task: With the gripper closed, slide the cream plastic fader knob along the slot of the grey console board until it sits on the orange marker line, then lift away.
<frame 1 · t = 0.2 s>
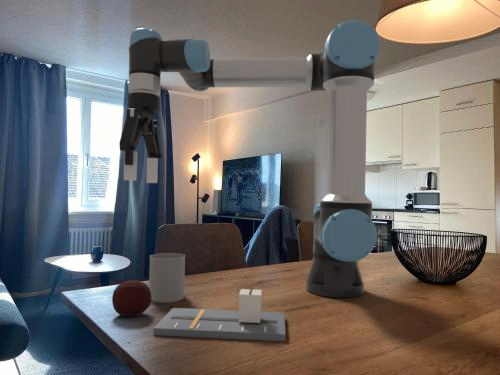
hand: (141, 181, 89), 28 cm above the table, fingers open, 13 cm apart
console: (223, 326, 69), on the table
potato: (131, 316, 75), on the table
cup: (166, 298, 89), on the table
fader: (250, 304, 69), point 4 cm above the table, slide at -5.0 cm
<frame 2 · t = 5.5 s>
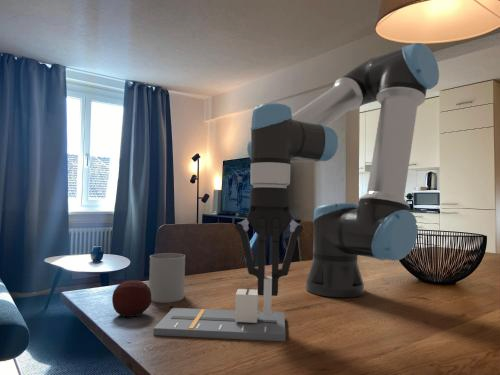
hand: (267, 312, 69), 3 cm above the table, fingers closed
fader: (247, 304, 69), point 4 cm above the table, slide at -4.4 cm, touching gripper
everything else where it was.
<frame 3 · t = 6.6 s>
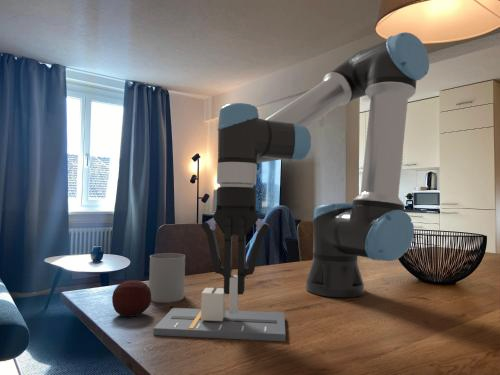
hand: (233, 311, 69), 3 cm above the table, fingers closed
fader: (213, 303, 70), point 4 cm above the table, slide at 2.0 cm, touching gripper
everything else where it was.
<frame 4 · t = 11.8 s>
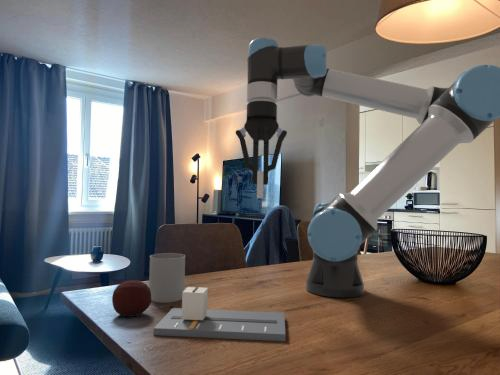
hand: (260, 198, 91), 24 cm above the table, fingers closed
fader: (195, 302, 70), point 4 cm above the table, slide at 5.6 cm
everything else where it was.
at the end: fader slide at 5.6 cm; the gripper is holding nothing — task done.
